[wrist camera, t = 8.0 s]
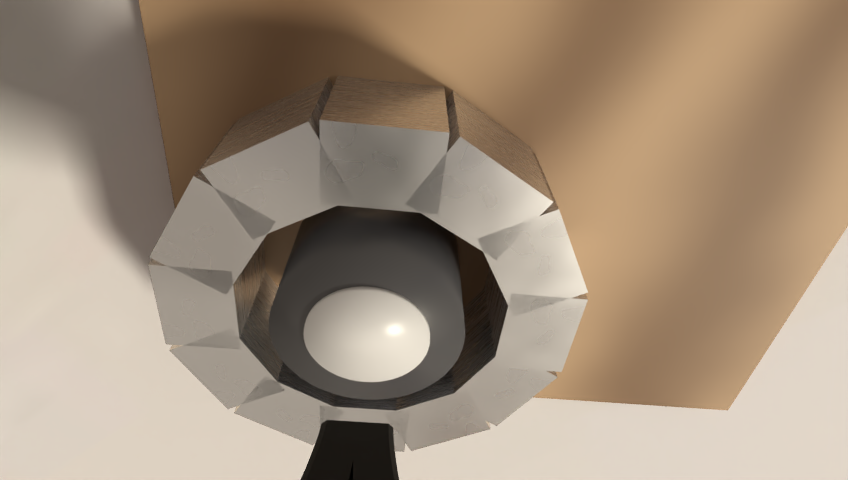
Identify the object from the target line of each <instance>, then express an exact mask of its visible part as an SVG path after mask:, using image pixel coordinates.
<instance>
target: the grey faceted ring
mask: <svg viewBox="0 0 848 480" xmlns="http://www.w3.org/2000/svg"><path fill="white" fill-rule="evenodd" d="M338 205H339V206H351V207H362V208H373V209H384V210H396V211H407V212H418V213H421V214H423V215H425V216H426V217H428V218H430V219H431V220H433V221H434V222H436V223H438V224H439V225H441V226H442V227H444V228H446V229H447V230H449V231H450V232H452V233H454V234H455V235H457V236H458V237H460V238H462V239H463V240H465V241H467V242H468V243H470V244H471V245H473V246H475V247H476V248H478V249H479V250H481V251H483V253H484V255H485V257H486V259H487V261H488V263H489V270H488V274H487V279H486V283H485V288H484V289H483V290H482V291H481V292H480V293H479V294H478V295H477V296H476V297H475V298H474V299H473V300H472V301H471V302H470V303H469V304H468V305H467V306H466V307H465V308H464V309H463V312H464V323H465V340H464V345H463V348H462V351H461V354H460V356H459V358H458V360H457V361H456V363H455V364H454V365H453V367H452V368H451V369H450V370H449V371H448V372H447V373H446V374H445V375H444V376H443V377H442V378H440V379H439V380H438V381H436V382H435V383H433V384H432V385H430V386H428V387H426V388H424V389H422V390H420V391H417V392H415V393H412V394H409V395H405V396H401V397H396V398H390V399H378V400H368V399H356V398H349V397H344V396H340V395H336V394H333V393H330V392H327V391H324V390H322V389H319V388H317V387H315V386H313V385H311V384H309V383H308V382H306V381H305V380H303V379H302V378H300V377H299V376H298V375H296V374H295V373H294V372H293V371H292V370H291V369H290V368H289V367H288V366H287V365H286V364H285V363H284V362H283V361H282V359H281V358H280V357H279V355H278V353H277V352H276V350H275V348H274V346H273V343H272V340H271V338H270V332H269V315H270V310H271V307H272V304H273V301H274V298H275V295H276V293H277V290H278V286H277V285H276V284H275V282H274V281H273V280H272V278H271V277H270V276H269V275H268V273H267V272H266V266H265V252H264V238H265V237H266V235H267V234H268V233H270V232H273V231H275V230H278V229H280V228H283V227H285V226H288V225H290V224H293V223H295V222H298V221H300V220H303V219H305V218H308V217H310V216H313V215H315V214H318V213H320V212H323V211H325V210H328V209H330V208H333V207H335V206H338ZM149 257H150V258H152V260H151V261H150V263H149V264H148V267H149V271H150V276H151V280H152V285H153V289H154V294H155V298H156V302H157V307H158V311H159V316H160V320H161V325H162V329H163V334H164V338H165V343H166V344H170V345H172V347H171V349H170V351H171V352H172V353H173V354H174V355H175V356H176V357H177V358H178V359H179V360H180V361H181V362H182V363H183V364H184V365H185V366H186V367H187V368H188V370H189V371H190V372H191V373H192V374H193V375H194V376H195V377H196V378H197V379H198V380H199V381H200V382H201V383H202V384H203V385H204V386H205V387H206V388H207V389H208V390H209V391H210V392H211V393H212V394H213V395H214V396H215V397H216V398H217V399H218V400H219V401H220V402H221V403H222V404H223V405H224V406H225V407H226V408H227V409H230V408H233V407H236V409H235V412H234V413H235V414H238V415H240V416H243V417H245V418H247V419H250V420H252V421H255V422H257V423H260V424H262V425H265V426H267V427H270V428H272V429H274V430H277V431H279V432H282V433H284V434H287V435H289V436H292V437H294V438H297V439H299V440H301V441H304V442H306V443H309V444H311V445H313V444H314V443H315V442H316V440H317V437H318V434H319V431H320V427H321V424H322V423H323V422H325V421H326V420H338V421H355V422H371V423H388V424H390V425H391V426H392V427H393V434H394V448H395V451H402V452H404V448H405V443H406V444H407V446H408V447H409V448H410V450H411V451H413V450H416V449H420V448H424V447H427V446H431V445H434V444H438V443H442V442H445V441H449V440H452V439H456V438H460V437H463V436H467V435H470V434H474V433H478V432H481V431H485V430H488V429H490V424H489V422H490V423H492V424H494V425H496V426H497V425H498V424H500V423H501V422H502V421H503V420H505V419H506V418H507V417H508V416H510V415H511V414H512V413H513V412H515V411H516V410H517V409H518V408H520V407H521V406H522V405H523V404H525V403H526V402H527V401H528V400H530V399H531V398H532V397H534V396H535V395H536V394H537V393H539V392H540V391H541V390H542V389H544V388H545V387H546V386H547V385H549V384H550V383H551V382H552V381H554V380H555V379H556V378H557V373H556V372H562V370H563V367H564V364H565V362H566V359H567V356H568V353H569V351H570V348H571V345H572V342H573V340H574V337H575V334H576V331H577V329H578V326H579V323H580V320H581V318H582V315H583V312H584V309H585V307H586V304H587V301H588V298H587V296H586V293H588V291H587V288H586V285H585V282H584V279H583V276H582V274H581V271H580V268H579V265H578V262H577V259H576V256H575V254H574V251H573V248H572V245H571V242H570V239H569V236H568V234H567V231H566V228H565V225H564V222H563V219H562V216H561V214H560V211H559V208H558V206H557V203H556V201H555V199H554V196H553V194H552V192H551V189H550V187H549V184H548V182H547V180H546V177H545V175H544V173H543V170H542V168H541V166H540V163H539V161H538V158H537V156H536V154H533V152H532V149H531V147H530V146H528V145H527V144H526V143H524V142H523V141H522V140H520V139H519V138H517V137H516V136H515V135H513V134H512V133H511V132H509V131H508V130H507V129H505V128H504V127H502V126H501V125H500V124H498V123H497V122H496V121H494V120H493V119H492V118H490V117H489V116H487V115H486V114H485V113H483V112H482V111H481V110H479V109H478V108H477V107H475V106H474V105H473V104H471V103H470V102H468V101H467V100H466V99H464V98H463V97H462V96H460V95H459V94H458V93H456V92H455V91H453V90H452V91H451V93H450V94H449V95H448V97H447V98H446V99H445V90H444V87H443V86H433V85H424V84H414V83H405V82H395V81H385V80H376V79H366V78H357V77H347V76H337V79H336V81H335V84H334V86H333V84H332V82H331V80H330V79H329V77H328V78H325V79H323V80H321V81H319V82H317V83H315V84H312V85H310V86H308V87H306V88H304V89H302V90H300V91H297V92H295V93H293V94H291V95H289V96H287V97H284V98H282V99H280V100H278V101H276V102H274V103H272V104H269V105H267V106H265V107H263V108H261V109H259V110H256V111H254V112H252V113H250V114H248V115H246V116H244V117H241V118H239V119H238V121H237V122H236V123H235V125H234V124H233V125H232V126H231V127H230V129H229V130H228V131H227V133H226V134H225V135H224V137H223V138H222V139H221V141H220V142H219V143H218V144H217V146H216V147H215V148H214V150H213V151H212V152H211V154H210V155H209V156H208V158H207V159H206V160H205V162H204V163H203V164H202V165H201V167H200V168H199V169H198V171H197V172H196V173H195V175H194V176H193V178H192V180H191V181H190V183H189V185H188V187H187V189H186V191H185V192H184V194H183V196H182V198H181V200H180V202H179V203H178V205H177V207H176V209H175V211H174V213H173V214H172V216H171V218H170V220H169V222H168V223H167V225H166V227H165V229H164V231H163V233H162V234H161V236H160V238H159V240H158V242H157V244H156V245H155V247H154V249H153V251H152V253H151V255H150V256H149Z"/></svg>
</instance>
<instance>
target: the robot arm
mask: <svg viewBox="0 0 848 480" xmlns="http://www.w3.org/2000/svg"><path fill="white" fill-rule="evenodd" d="M301 480H399V477H398V471H397V465H396V458H395V448H394V434H393V427H392V426H391V425H390V424H388V423H371V422H355V421H338V420H326V421H325V422H323V423H322V424H321V427H320V431H319V434H318V437H317V440H316V443H315V446H314V449H313V451H312V454H311V457H310V459H309V462H308V464H307V467H306V469H305V471H304V474H303V476H302V478H301Z"/></svg>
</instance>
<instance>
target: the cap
mask: <svg viewBox="0 0 848 480" xmlns="http://www.w3.org/2000/svg"><path fill="white" fill-rule="evenodd" d="M269 332H270V338H271V340H272V343H273V346H274V348H275V350H276V352H277V353H278V355H279V357H280V358H281V359H282V361H283V362H284V363H285V364H286V365H287V366H288V367H289V368H290V369H291V370H292V371H293V372H294V373H295V374H296V375H298V376H299V377H300V378H302V379H303V380H305V381H306V382H308V383H309V384H311V385H313V386H315V387H317V388H319V389H322V390H324V391H327V392H330V393H333V394H336V395H340V396H344V397H349V398H356V399H368V400H378V399H390V398H396V397H401V396H405V395H409V394H412V393H415V392H417V391H420V390H422V389H424V388H426V387H428V386H430V385H432V384H433V383H435V382H436V381H438V380H439V379H440V378H442V377H443V376H444V375H445V374H446V373H447V372H448V371H449V370H450V369H451V368H452V367H453V365H454V364H455V363H456V361H457V360H458V358H459V356H460V354H461V351H462V348H463V345H464V340H465V323H464V312H463V301H462V290H461V279H460V267H459V256H458V245H457V241H456V236H455V234H454V233H452V232H450V231H449V230H447V229H446V228H444V227H442V226H441V225H439V224H438V223H436V222H434V221H433V220H431V219H430V218H428V217H426V216H425V215H423V214H421V213H418V212H407V211H396V210H384V209H373V208H362V207H351V206H339V205H338V206H335V207H333V208H330V209H328V210H325V211H323V212H320V213H318V214H315V215H313V216H310V217H308V218H305V219H304V220H303V221H302V223H301V226H300V228H299V231H298V234H297V236H296V239H295V242H294V245H293V248H292V250H291V253H290V256H289V259H288V262H287V265H286V267H285V270H284V273H283V276H282V279H281V281H280V284H279V287H278V290H277V293H276V295H275V298H274V301H273V304H272V307H271V310H270V315H269Z"/></svg>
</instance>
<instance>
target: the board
mask: <svg viewBox="0 0 848 480" xmlns="http://www.w3.org/2000/svg"><path fill="white" fill-rule="evenodd" d="M139 6H140V12H141V17H142V23H143V29H144V34H145V40H146V46H147V52H148V57H149V63H150V69H151V74H152V80H153V86H154V91H155V97H156V103H157V109H158V114H159V120H160V126H161V131H162V137H163V143H164V148H165V154H166V160H167V165H168V171H169V177H170V183H171V188H172V194H173V200H174V205H175V209H176V207H177V205H178V203H179V202H180V200H181V198H182V196H183V194H184V192H185V191H186V189H187V187H188V185H189V183H190V181H191V180H192V178H193V176H194V175H195V173H196V172H197V171H198V169H199V168H200V167H201V165H202V164H203V163H204V162H205V160H206V159H207V158H208V156H209V155H210V154H211V152H212V151H213V150H214V148H215V147H216V146H217V144H218V143H219V142H220V141H221V139H222V138H223V137H224V135H225V134H226V133H227V131H228V130H229V129H230V127H231V126H232V125H233V124H234V125H235V123H236V122H237V121H238V119H239V118H241V117H244V116H246V115H248V114H250V113H252V112H254V111H256V110H259V109H261V108H263V107H265V106H267V105H269V104H272V103H274V102H276V101H278V100H280V99H282V98H284V97H287V96H289V95H291V94H293V93H295V92H297V91H300V90H302V89H304V88H306V87H308V86H310V85H312V84H315V83H317V82H319V81H321V80H323V79H325V78H328V77H329V79H330V80H331V82H332V84H333V86H334V84H335V81H336V79H337V76H347V77H357V78H366V79H376V80H385V81H395V82H405V83H414V84H424V85H433V86H443V87H444V90H445V99H446V98H447V97H448V95H449V94H450V93H451V91H452V90H453V91H455V92H456V93H458V94H459V95H460V96H462V97H463V98H464V99H466V100H467V101H468V102H470V103H471V104H473V105H474V106H475V107H477V108H478V109H479V110H481V111H482V112H483V113H485V114H486V115H487V116H489V117H490V118H492V119H493V120H494V121H496V122H497V123H498V124H500V125H501V126H502V127H504V128H505V129H507V130H508V131H509V132H511V133H512V134H513V135H515V136H516V137H517V138H519V139H520V140H522V141H523V142H524V143H526V144H527V145H528V146H530V147H531V149H532V152H533V154H536V156H537V158H538V161H539V163H540V166H541V168H542V170H543V173H544V175H545V177H546V180H547V182H548V184H549V187H550V189H551V192H552V194H553V196H554V199H555V201H556V203H557V206H558V208H559V211H560V214H561V216H562V219H563V222H564V225H565V228H566V231H567V234H568V236H569V239H570V242H571V245H572V248H573V251H574V254H575V256H576V259H577V262H578V265H579V268H580V271H581V274H582V276H583V279H584V282H585V285H586V288H587V291H588V293H586V296H587V298H588V301H587V304H586V307H585V309H584V312H583V315H582V318H581V320H580V323H579V326H578V329H577V331H576V334H575V337H574V340H573V342H572V345H571V348H570V351H569V353H568V356H567V359H566V362H565V364H564V367H563V370H562V372H556V373H557V378H556V379H555V380H554V381H552V382H551V383H550V384H549V385H547V386H546V387H545V388H544V389H542V390H541V391H540V392H539V393H537V394H536V395H535V396H534V397H536V398H551V399H566V400H582V401H597V402H612V403H627V404H642V405H657V406H672V407H687V408H702V409H717V410H728V409H729V408H730V406H731V405H732V403H733V402H734V400H735V399H736V397H737V395H738V394H739V392H740V391H741V389H742V388H743V386H744V385H745V383H746V382H747V380H748V379H749V377H750V375H751V374H752V372H753V371H754V369H755V368H756V366H757V365H758V363H759V362H760V360H761V359H762V357H763V355H764V354H765V352H766V351H767V349H768V348H769V346H770V345H771V343H772V342H773V340H774V339H775V337H776V335H777V334H778V332H779V331H780V329H781V328H782V326H783V325H784V323H785V322H786V320H787V319H788V317H789V316H790V314H791V312H792V311H793V309H794V308H795V306H796V305H797V303H798V302H799V300H800V299H801V297H802V296H803V294H804V292H805V291H806V289H807V288H808V286H809V285H810V283H811V282H812V280H813V279H814V277H815V276H816V274H817V272H818V271H819V269H820V268H821V266H822V265H823V263H824V262H825V260H826V259H827V257H828V256H829V254H830V252H831V251H832V249H833V248H834V246H835V245H836V243H837V242H838V240H839V239H840V237H841V236H842V234H843V232H844V231H845V229H846V228H847V226H848V0H139ZM303 220H304V219H303ZM303 220H300V221H298V222H295V223H293V224H290V225H288V226H285V227H283V228H280V229H278V230H275V231H273V232H270V233H268V234H267V235H266V237H265V238H264V252H265V266H266V272H267V273H268V275H269V276H270V277H271V278H272V280H273V281H274V282H275V284H276V285H277V286H278V287H279V284H280V281H281V279H282V276H283V273H284V270H285V267H286V265H287V262H288V259H289V256H290V253H291V250H292V248H293V245H294V242H295V239H296V236H297V234H298V231H299V228H300V226H301V223H302V221H303ZM455 236H456V241H457V245H458V256H459V267H460V279H461V290H462V301H463V309H464V308H465V307H466V306H467V305H468V304H469V303H470V302H471V301H472V300H473V299H474V298H475V297H476V296H477V295H478V294H479V293H480V292H481V291H482V290H483V289H484V288H485V283H486V279H487V274H488V270H489V263H488V261H487V259H486V257H485V255H484V253H483V251H481V250H479V249H478V248H476V247H475V246H473V245H471V244H470V243H468V242H467V241H465V240H463V239H462V238H460V237H458V236H457V235H455Z"/></svg>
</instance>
